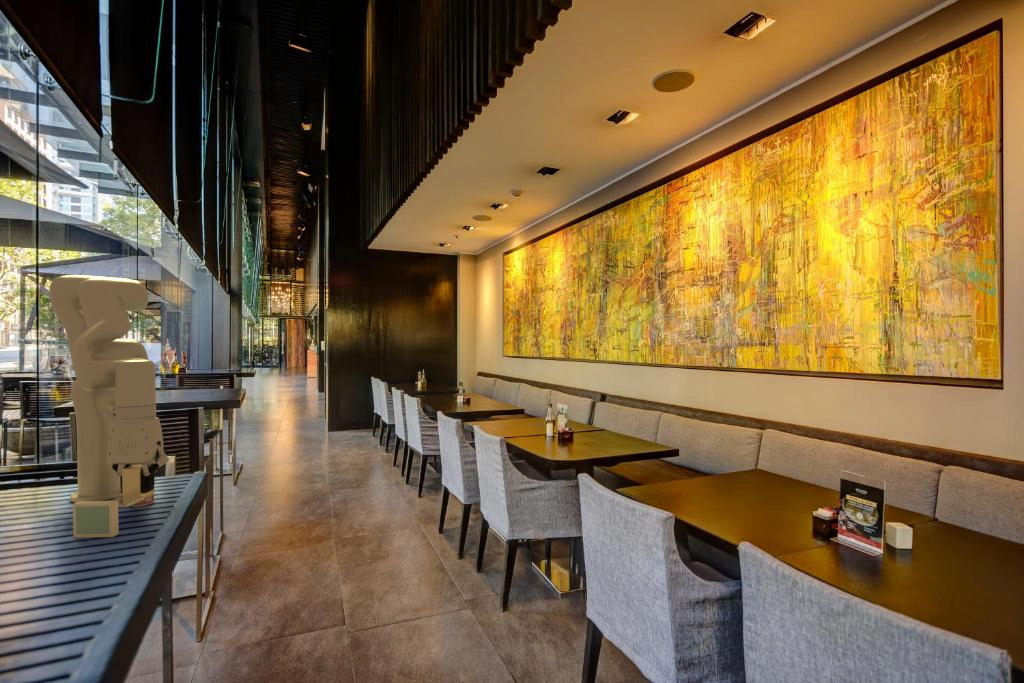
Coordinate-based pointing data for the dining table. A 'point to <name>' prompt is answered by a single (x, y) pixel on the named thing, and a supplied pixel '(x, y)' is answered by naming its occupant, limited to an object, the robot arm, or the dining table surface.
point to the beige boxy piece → (132, 486)
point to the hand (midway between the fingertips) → (137, 490)
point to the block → (95, 519)
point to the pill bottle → (145, 501)
